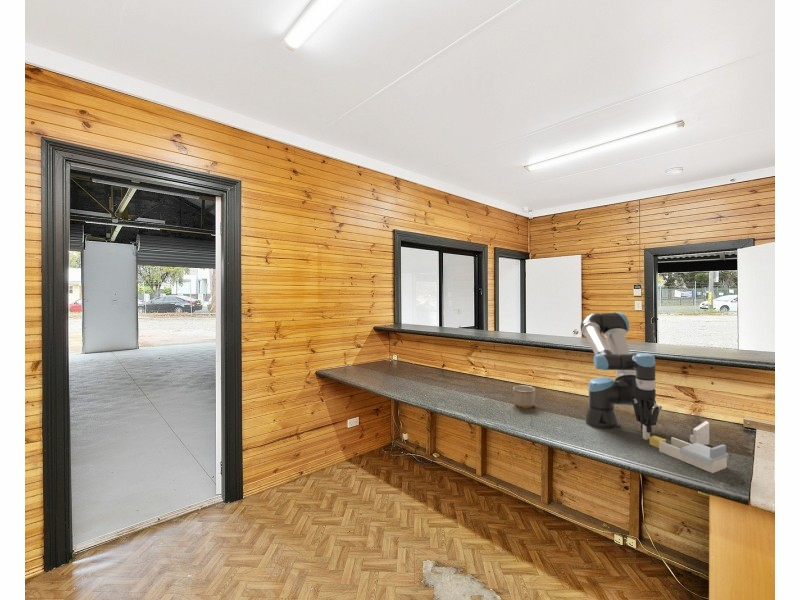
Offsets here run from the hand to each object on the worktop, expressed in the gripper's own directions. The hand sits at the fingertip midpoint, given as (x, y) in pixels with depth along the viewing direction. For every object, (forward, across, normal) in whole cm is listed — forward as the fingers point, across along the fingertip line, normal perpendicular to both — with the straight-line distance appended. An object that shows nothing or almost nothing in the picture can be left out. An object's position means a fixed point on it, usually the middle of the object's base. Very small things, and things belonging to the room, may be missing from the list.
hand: (646, 438), depth 169 cm
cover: (-2, +23, +1) cm, 23 cm away
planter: (+1, -63, -16) cm, 65 cm away
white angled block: (+2, +11, +18) cm, 22 cm away
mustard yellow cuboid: (+2, +5, 0) cm, 5 cm away
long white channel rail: (+2, +18, +1) cm, 18 cm away
